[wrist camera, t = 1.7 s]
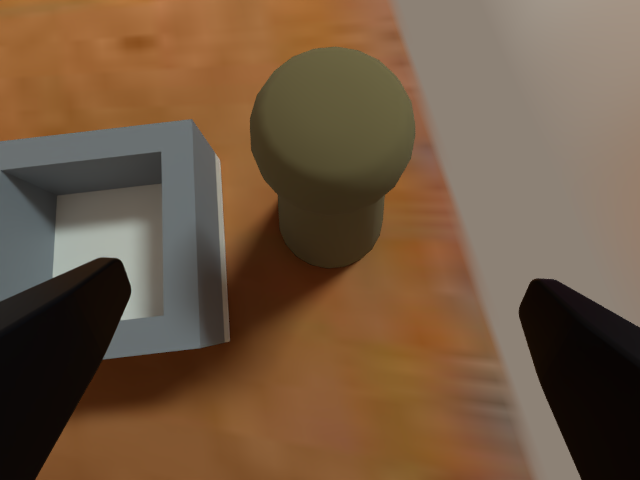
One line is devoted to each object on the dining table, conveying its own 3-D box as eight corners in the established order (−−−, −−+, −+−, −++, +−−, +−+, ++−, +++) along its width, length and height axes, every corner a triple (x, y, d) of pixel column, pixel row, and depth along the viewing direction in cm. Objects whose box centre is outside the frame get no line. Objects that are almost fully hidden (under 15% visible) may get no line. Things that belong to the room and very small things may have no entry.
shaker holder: (229, 341, 19) (200, 348, 14) (34, 364, 19) (-55, 377, 14) (220, 160, 21) (191, 119, 17) (46, 180, 21) (-28, 144, 17)
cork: (291, 280, 20) (246, 232, 9) (268, 181, 21) (204, 36, 10) (396, 253, 20) (475, 175, 9) (366, 157, 21) (405, -10, 10)
